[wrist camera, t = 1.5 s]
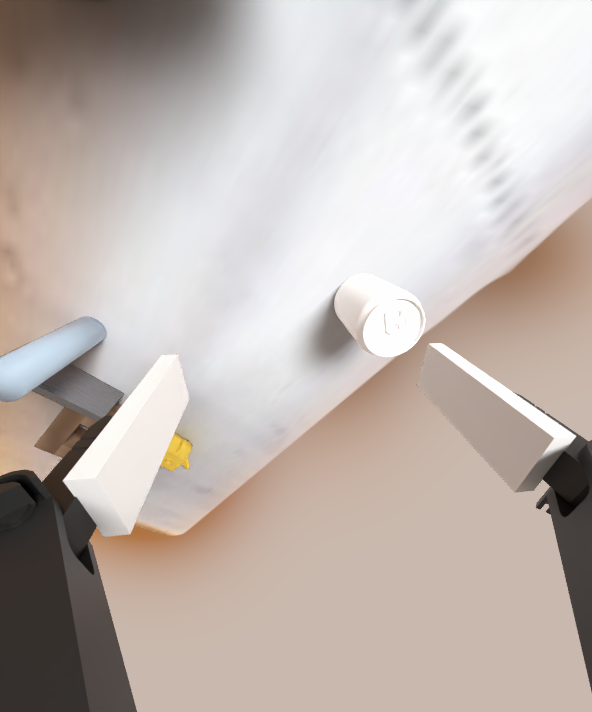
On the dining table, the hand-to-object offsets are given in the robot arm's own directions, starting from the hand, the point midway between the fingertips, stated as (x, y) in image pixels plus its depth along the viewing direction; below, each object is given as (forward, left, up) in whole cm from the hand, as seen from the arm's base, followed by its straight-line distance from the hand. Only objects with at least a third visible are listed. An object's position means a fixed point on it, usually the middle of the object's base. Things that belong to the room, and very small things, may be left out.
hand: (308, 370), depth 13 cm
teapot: (+7, -36, -25) cm, 45 cm away
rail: (-13, -33, -25) cm, 43 cm away
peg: (-15, -25, -25) cm, 38 cm away
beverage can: (+11, +6, -25) cm, 28 cm away
